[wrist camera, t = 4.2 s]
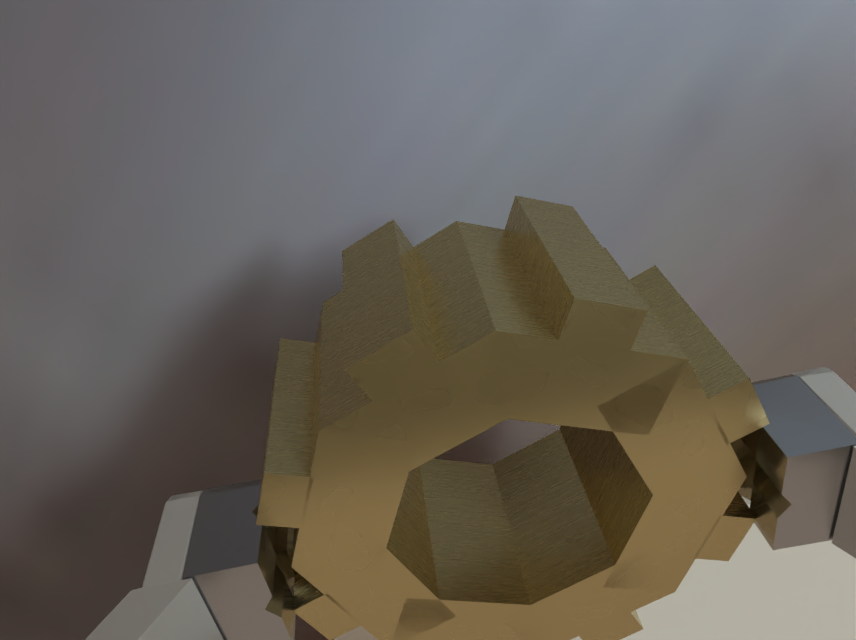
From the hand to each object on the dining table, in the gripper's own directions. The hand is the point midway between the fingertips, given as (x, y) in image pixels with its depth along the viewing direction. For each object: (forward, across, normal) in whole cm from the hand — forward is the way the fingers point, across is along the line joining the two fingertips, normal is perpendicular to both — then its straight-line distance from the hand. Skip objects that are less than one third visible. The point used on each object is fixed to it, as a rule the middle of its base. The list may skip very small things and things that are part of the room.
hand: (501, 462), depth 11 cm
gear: (+2, 0, 0) cm, 2 cm away
